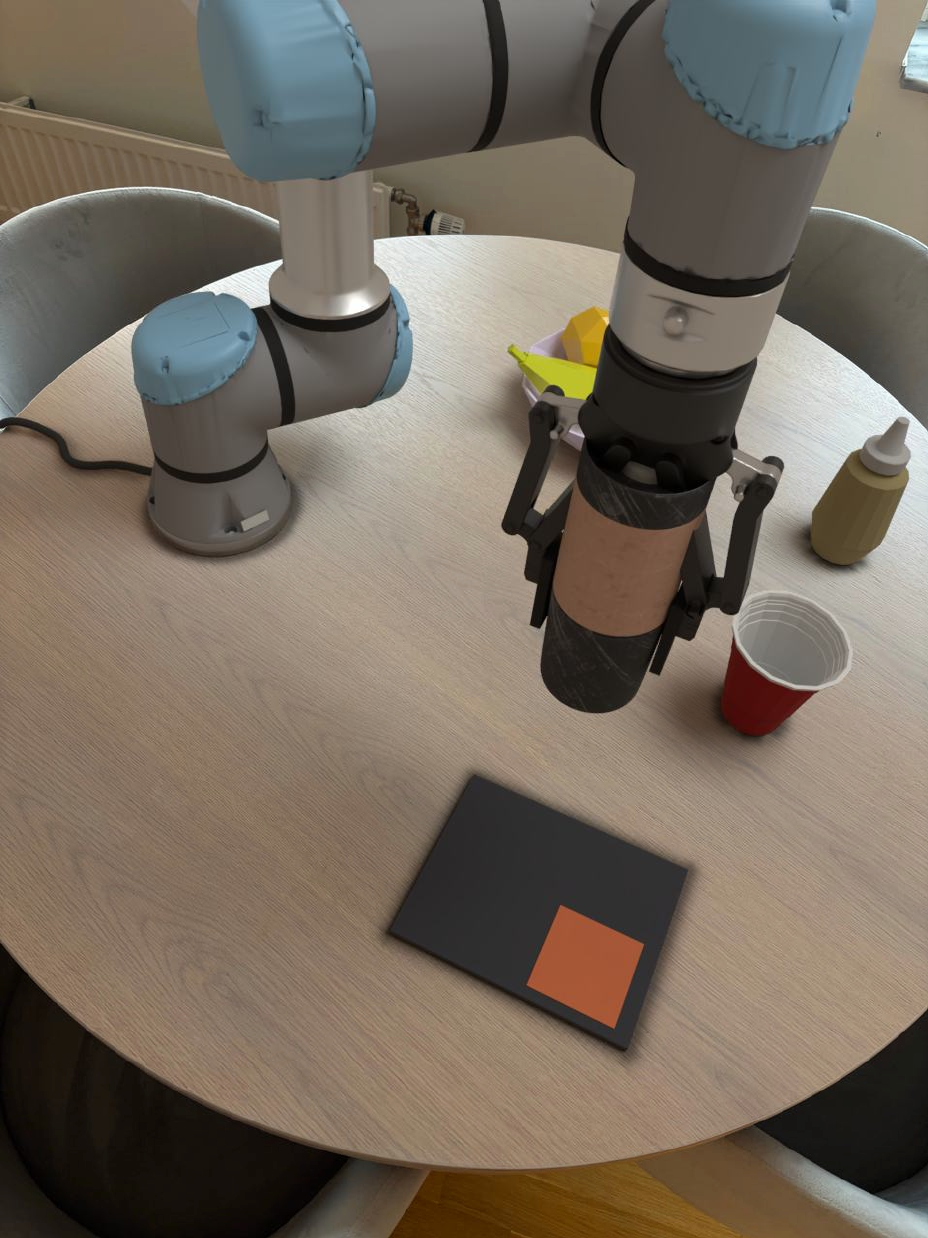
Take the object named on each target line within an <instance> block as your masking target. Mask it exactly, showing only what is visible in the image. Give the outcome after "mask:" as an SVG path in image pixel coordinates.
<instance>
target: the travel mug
mask: <svg viewBox="0 0 928 1238" xmlns="http://www.w3.org/2000/svg"><path fill="white" fill-rule="evenodd" d="M597 461H598V458H597V457H596V456H595V455H594V454H593V452H592V450H591V448H590V446H589V444H588V442H587V439H586V438H585V436H584V440H583V443H582V448H581V452H579V458H578V461H577V466H576V472H575V476H574V479H575V480H574V479H573V480H574V485H573V492H572V497H571V502H570V506H569V511H568V515H567V520H566V524H565V529H564V530H563V531H562V532H563V535H562V540H561V545H560V549H559V554H558V558H557V563H556V568H555V572H554V577H553V583H552V589H551V595H550V602H549V608H548V615H547V617H546V620H545V629H544V635H543V640H542V647H541V655H540V664H539V668H540V676H541V679H542V682H543V684H544V686H545V688H546V689H547V691H548V692H549V693H550V694H551V695H552V696H553V697H554V698H555V699H556V700H557V701H558V702H559V703H561V704H563V705H565V706H566V707H568V708H570V709H573V710H575V711H578V712H581V713H584V714H585V713H586V714H597V715H598V714H607V713H611V712H612V713H613V712H615V711H618V710H620V709H622V708H623V707H625V706H626V705H628V704H629V703H630V702H631V701H633V699H634V698H635V697H636V696H637V693H638V692H639V690H640V688H641V686H642V683H643V681H644V679H645V676H646V674H647V672H648V669H649V668H650V665H651V663H652V661H653V658H654V655H655V652H656V649H657V647H658V644H659V641H660V638H661V635H662V632H663V630H664V627H665V624H666V621H667V618H668V615H669V613H670V610H671V607H672V604H673V602H674V600H675V597H676V595H677V593H678V590H679V588H680V586H681V583H682V578H681V573H680V568H681V565H682V562H683V559H684V556H685V553H686V550H687V547H688V544H689V541H690V538H691V535H692V532H693V530H697V529H698V528H699V527H700V525H701V522H702V519H703V517H704V514H705V511H706V512H707V509H708V508H707V507H708V505H709V502H710V499H711V495H712V494H713V490H714V487H715V484H716V481H717V478H715V479H713V480H709V481H708V482H706V483H705V484H704V485H702V486H700V487H698V488H696V489H686V492H684V493H678V494H676V493H673V492H670V491H667V490H664V489H661V488H660V486H659V485H658V483H657V478H656V473H655V469H652V468H650V467H647V466H645V465H642V464H639V463H635V462H632V461H629V462H628V463H627V465H626V466H625V467H624V468H623V469H622V470H621V471H620V472H618V473H615V472H612V471H609V470H606V469H603V468H600V467H597V466H596V465H595V464H596V462H597Z"/></svg>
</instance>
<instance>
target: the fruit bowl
mask: <svg viewBox="0 0 928 1238" xmlns="http://www.w3.org/2000/svg"><path fill="white" fill-rule="evenodd" d="M608 324H609V310H607V309H605V308H600V307H597V306H592V307H590V308H587V309H585V310H583V311H582V312H580V313H577V314H576V315H574V316H571V318H570V319H569V322H568V323H567V325H566V326H565V327H563V328H561V329H559V330H557V331H555V332H553V333H551V334H549V335H547V336H546V337H544V338H542V339H540V340H538V341H537V342H535V343H532V344H531V345H530V347H529V351H528V352H527V351H524V352H522V351H521V350H520V349H519V348H518V347H517V346H515V344H513V343H511V344H510V345H509V346H508V347H507V353H508V354H509V355H510V356H511V357H512V358H513V359H515V360H516V362H517V367H518V368H519V369H520V371H522V373H523V378H522V384H521V387H522V388H523V390H524V393H525V394H526V397H527V399H528V401H529V402H530V404H531V405H530V406H531V408H533V406H534V405H535V403H536V402H537V400H538V399H539V397H540V396H541V395H542V393H543V392H544V390H545V389H546V388H547V386H549V385H557V386H559V387H560V388H562V390H563V391H564V394H565V397H571V398H578V399H584V400H586V398H587V397H588V395H589V394H590V393H592V391H593V385H594V381H595V376H596V371H597V366H598V361H599V356H600V351H601V346H602V341H603V336H604V332H605V329H606V327H607V326H608ZM560 440H562V441H564V442H565V443H567V444H568V445H570V446H572V447H573V448H574V449H576V450H577V451H579V453H581V448H582V443H583V440H584V434H583V432H582V430H581V428H580V426H579V424H574V425H573V426H572V428H571V429H570V431H569V432H568V434H567V435H566V436H564V437H561V439H560Z"/></svg>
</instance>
